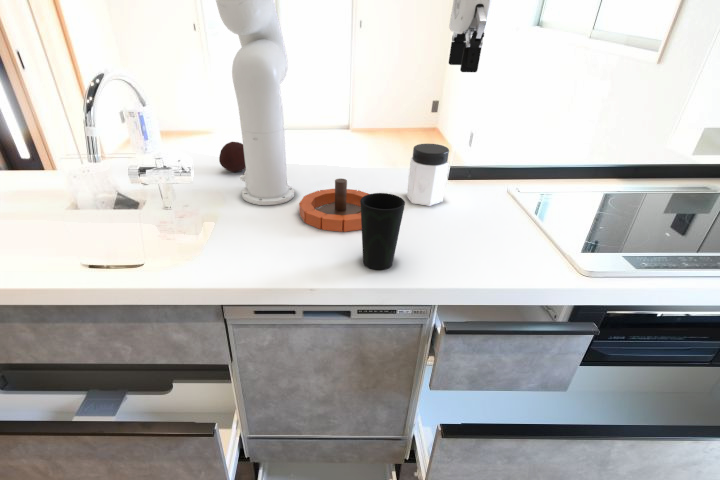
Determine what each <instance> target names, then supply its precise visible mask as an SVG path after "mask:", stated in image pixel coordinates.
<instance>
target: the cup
mask: <svg viewBox="0 0 720 480" xmlns="http://www.w3.org/2000/svg"><path fill="white" fill-rule="evenodd" d="M360 203H361V225H362V230H361V244H362V245H361V247H362V263H363V266H365V268H367V269H370V270H373V271H384V270H385V271H386V270H388V269H390V268H391V267H393V263H394V259H395V253H396V249H397V244H398V239H399V236H400V235H399V234H400V230H401V225H402V220H403V215H404V210H405V206H406V201H405V200H404V199H403V197H401V196H399V195H396V194H394V193H393V194H392V193H386V192H374V193H368V195H366V196H364V197H363V198H361V200H360Z"/></svg>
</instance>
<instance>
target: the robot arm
mask: <svg viewBox="0 0 720 480" xmlns="http://www.w3.org/2000/svg"><path fill="white" fill-rule="evenodd" d="M215 2H216V6H217V10H218V13H219V17H220V19H221V21H222V24H223V25H224V26H225V27H226V28H227V29H228V30H229V31H230V32H231V33H233V34H236V35H237V36H238V39H239V42H240V46H241V47H240V48H239V50H238V51H237V52H236V54H235V56H234V58H233V61H232V67H231V75H232V83H233V84H232V85H233V88H234V92H235V96H236V97H235V98H236V102H237V108H238V114H239V120H240V121H239V122H240V123H239V124H240V130H241V139H242V144H243V149H244V158H245V167H246V168H245V171H244V173H243V174H241V175H240V176H239V179H240V181H242V182H245V187H244V188H243V189H242V191H241V197H242V199H243V200H244V201H245V202H247V203H250V204H253V205H258V206H274V205H280V204H284V203H287V202H289V201H291V200H292V199H293V198H294V197H295V189H294V188H293V187H292V186H290V185H288V172H287V154H286V137H285V121H284V108H283V101H282V93H281V84H282V82H283V81H284V80H285V78H286V77H287V73H288V68H289V62H288V55H287V50H286V46H285V43H284V42H285V41H284V37H283V33H282V29H281V24H280V21H279V20H280V19H279V15H278V11H277V7H276V3H275V0H215ZM491 5H492V0H453V2H452V7H451V14H450V20H449V26H448V28H449V30H450V31H451V32H453V33H452V37H451V43H450V50H449V55H448V56H449V57H448V65H450V66H460V68H459V69H460V72H461V73H477V72H478V69H479V65H480V64H479V63H480V59H481V53H482V47H483V41H484V40H483V39H484V37H485V31H486V30H487V25H488V21H489V17H490V11H491Z"/></svg>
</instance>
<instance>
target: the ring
mask: <svg viewBox="0 0 720 480" xmlns="http://www.w3.org/2000/svg"><path fill="white" fill-rule="evenodd" d="M368 194H369V193H368V192H366V191H362V190H359V189H358V190H357V189H353V188H352V189H350V188H347V199H346V202H347V203H350V204H353V205H355V206H358V207H361V203H360V200H361V198H363V197H364V196H366V195H368ZM332 202H335V188H328V189H320V190H316V191H313V192H311V193H308V194H306V195H304V196H303V197H302V198H301V200H300V202H299V203H298V212H299V216H300V218H301V219H302V221H303V223H304V224H306V225H309V226H311V227H314V228H315V229H318V230H322V231H329V232H330V231H331V232H338V233H339V232H340V233H343V232H344V233H346V232H353V231H354V232H355V231H362V225H361V212H360V213H358V214H350V215H333V214H326V213H323V212H321V211H318V210H316V209H318V208H320V207H323V206H325V205H327V204H330V203H332Z"/></svg>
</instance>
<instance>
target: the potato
mask: <svg viewBox="0 0 720 480" xmlns="http://www.w3.org/2000/svg"><path fill="white" fill-rule="evenodd" d="M218 159H219V164H220V166H221V167H222V168H223V169H224V170H226V171H229V172H233V173H238V172H242V171H244V170H246V167H245V158H244V149H243V142H238V141H230V142H227V143H225V144H224V145H223V146H222V148H221V150H220V153H219V157H218Z"/></svg>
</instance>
